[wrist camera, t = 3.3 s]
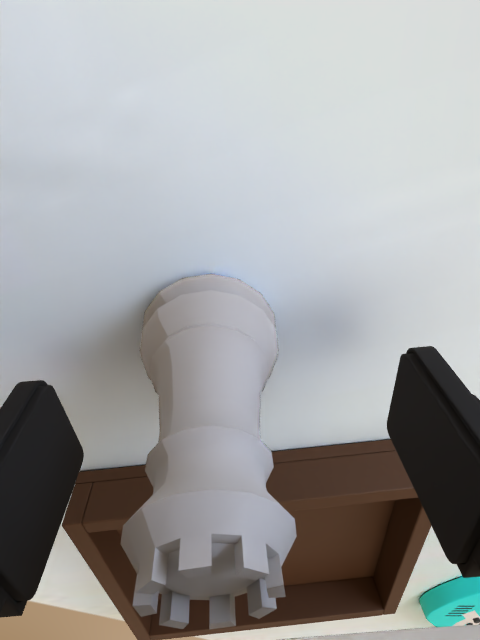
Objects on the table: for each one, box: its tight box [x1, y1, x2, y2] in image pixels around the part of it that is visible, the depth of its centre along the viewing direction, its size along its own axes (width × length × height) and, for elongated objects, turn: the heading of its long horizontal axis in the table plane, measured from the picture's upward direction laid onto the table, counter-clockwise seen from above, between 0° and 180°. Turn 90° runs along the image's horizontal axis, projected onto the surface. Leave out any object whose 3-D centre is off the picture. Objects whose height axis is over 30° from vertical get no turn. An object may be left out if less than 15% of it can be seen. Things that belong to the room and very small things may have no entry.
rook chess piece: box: [120, 274, 297, 629], centre depth 9 cm, size 4×4×8 cm
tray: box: [62, 439, 431, 640], centre depth 20 cm, size 16×14×2 cm
